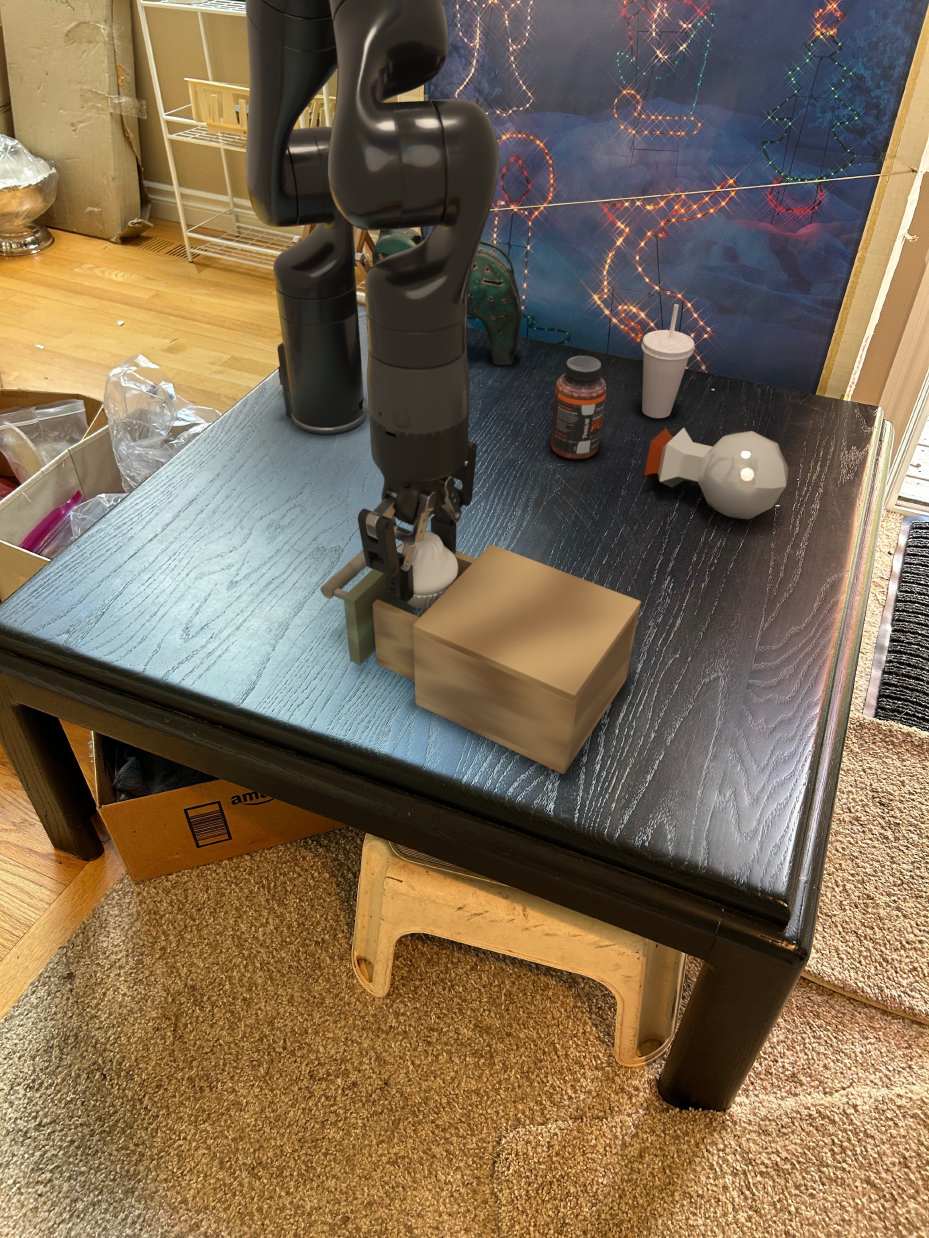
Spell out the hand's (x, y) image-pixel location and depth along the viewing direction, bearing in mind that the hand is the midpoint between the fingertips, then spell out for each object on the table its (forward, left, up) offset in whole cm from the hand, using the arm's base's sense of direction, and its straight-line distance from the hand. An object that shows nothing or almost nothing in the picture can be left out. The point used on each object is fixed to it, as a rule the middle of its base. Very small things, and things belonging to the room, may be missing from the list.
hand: (422, 574), depth 79 cm
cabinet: (+11, 0, -9) cm, 14 cm away
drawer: (0, 0, -8) cm, 8 cm away
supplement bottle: (-3, +39, -9) cm, 40 cm away
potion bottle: (+15, +37, -9) cm, 41 cm away
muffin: (0, 0, -3) cm, 3 cm away
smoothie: (+2, +53, -9) cm, 54 cm away
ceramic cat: (-29, +52, -9) cm, 60 cm away
